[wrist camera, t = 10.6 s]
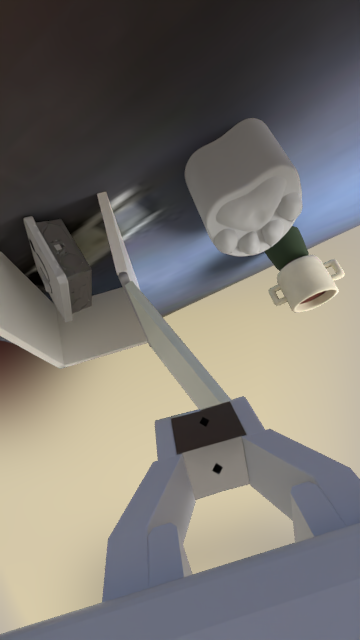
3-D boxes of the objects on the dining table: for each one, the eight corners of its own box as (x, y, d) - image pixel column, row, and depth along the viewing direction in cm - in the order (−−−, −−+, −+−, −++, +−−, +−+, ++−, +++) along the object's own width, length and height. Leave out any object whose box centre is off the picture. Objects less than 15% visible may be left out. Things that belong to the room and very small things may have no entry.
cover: (109, 294, 25) (131, 280, 26) (144, 355, 43) (157, 346, 44) (220, 438, 20) (245, 416, 21) (207, 439, 38) (221, 428, 39)
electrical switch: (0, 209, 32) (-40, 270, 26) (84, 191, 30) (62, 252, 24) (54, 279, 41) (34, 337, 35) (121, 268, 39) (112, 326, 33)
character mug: (252, 260, 53) (282, 322, 47) (244, 241, 46) (278, 309, 41) (310, 231, 49) (349, 293, 44) (310, 206, 43) (355, 275, 38)
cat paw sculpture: (267, 103, 27) (309, 162, 24) (279, 192, 39) (309, 240, 35) (173, 165, 30) (199, 225, 27) (211, 230, 41) (232, 278, 38)
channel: (106, 191, 30) (129, 278, 26) (138, 285, 49) (155, 346, 44) (-36, 227, 29) (-37, 324, 25) (52, 310, 48) (61, 374, 43)
